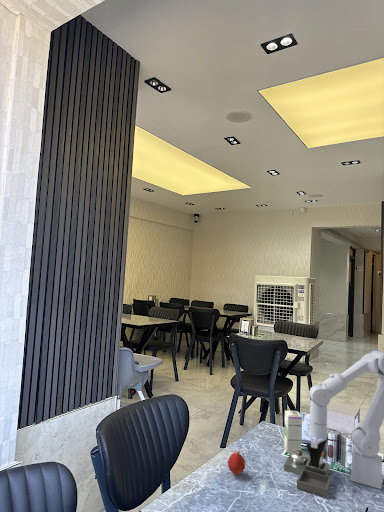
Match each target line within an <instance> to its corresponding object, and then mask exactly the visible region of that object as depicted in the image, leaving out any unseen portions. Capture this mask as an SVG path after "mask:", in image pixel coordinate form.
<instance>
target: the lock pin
mask: <svg viewBox="0 0 384 512" xmlns="http://www.w3.org/2000/svg"><path fill="white" fill-rule="evenodd" d="M324 456H325V451H324V450H323V452H322V454H321V457H320V462H319V466H318V468H319V469H323V462H324ZM311 466H312V465H311ZM312 467H313V466H312ZM316 468H317V467H316Z"/></svg>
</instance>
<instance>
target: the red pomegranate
mask: <svg viewBox="0 0 384 512" xmlns="http://www.w3.org/2000/svg"><path fill="white" fill-rule="evenodd" d="M227 468H228V470H229V471H230V472H231V473H232V474H233V475H234V476H238V475H240V474H242V473H243V472H244V471H245V468H246V461H245V459H244V457H243V455H241V453H240V452H239V450H236V451H235V452H233V453H232V454H231V455H230V456H229V457H228V460H227Z"/></svg>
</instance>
